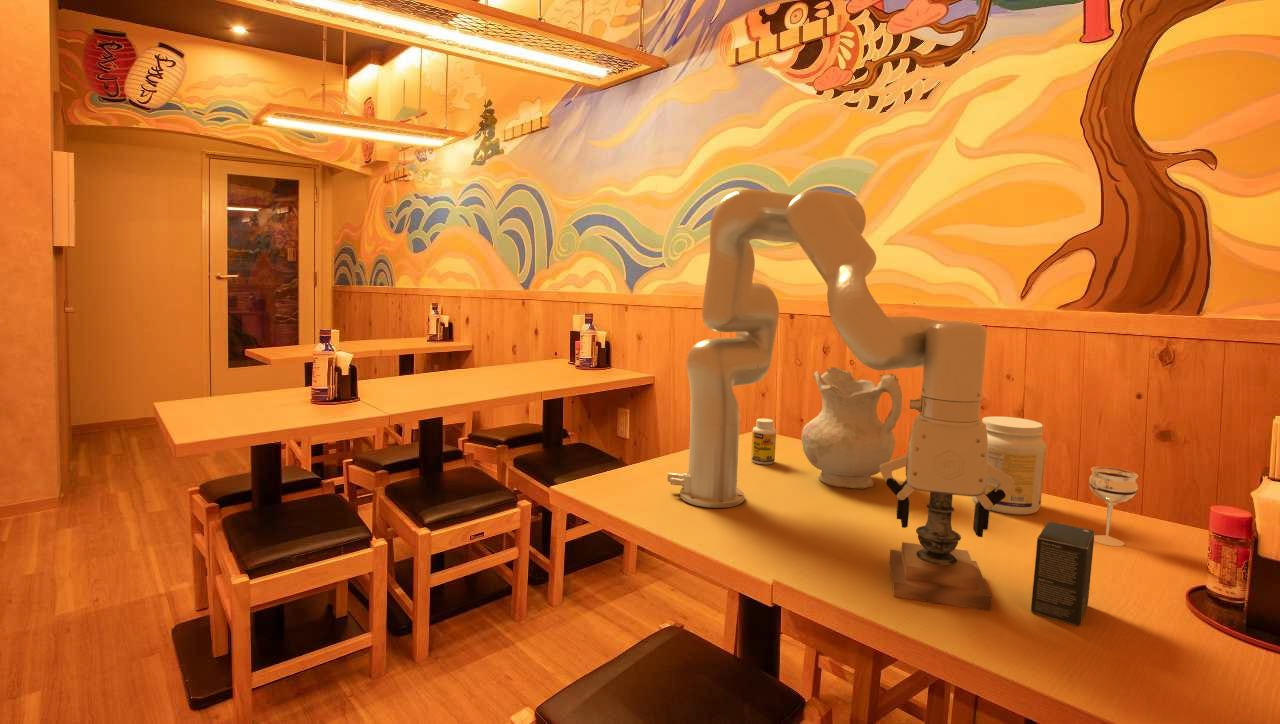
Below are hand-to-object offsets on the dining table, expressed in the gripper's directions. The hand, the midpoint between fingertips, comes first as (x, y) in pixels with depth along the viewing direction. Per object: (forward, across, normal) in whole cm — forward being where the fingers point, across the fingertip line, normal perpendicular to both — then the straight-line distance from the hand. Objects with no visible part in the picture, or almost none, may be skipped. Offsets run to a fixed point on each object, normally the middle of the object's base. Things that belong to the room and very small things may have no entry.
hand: (940, 529), depth 95 cm
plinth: (+8, 0, 0) cm, 8 cm away
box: (+9, +15, -2) cm, 17 cm away
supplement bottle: (+8, -32, +57) cm, 66 cm away
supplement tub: (+8, +17, +43) cm, 47 cm away
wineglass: (+8, +30, +29) cm, 43 cm away
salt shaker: (+4, 0, 0) cm, 5 cm away
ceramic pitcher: (+8, -12, +48) cm, 50 cm away
